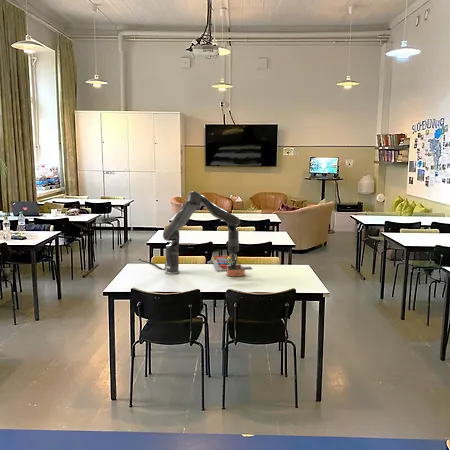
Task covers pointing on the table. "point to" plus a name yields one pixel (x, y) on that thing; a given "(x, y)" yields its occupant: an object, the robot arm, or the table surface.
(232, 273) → the bowl
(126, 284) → the table surface
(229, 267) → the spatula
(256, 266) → the table surface
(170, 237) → the robot arm
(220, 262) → the gear board
